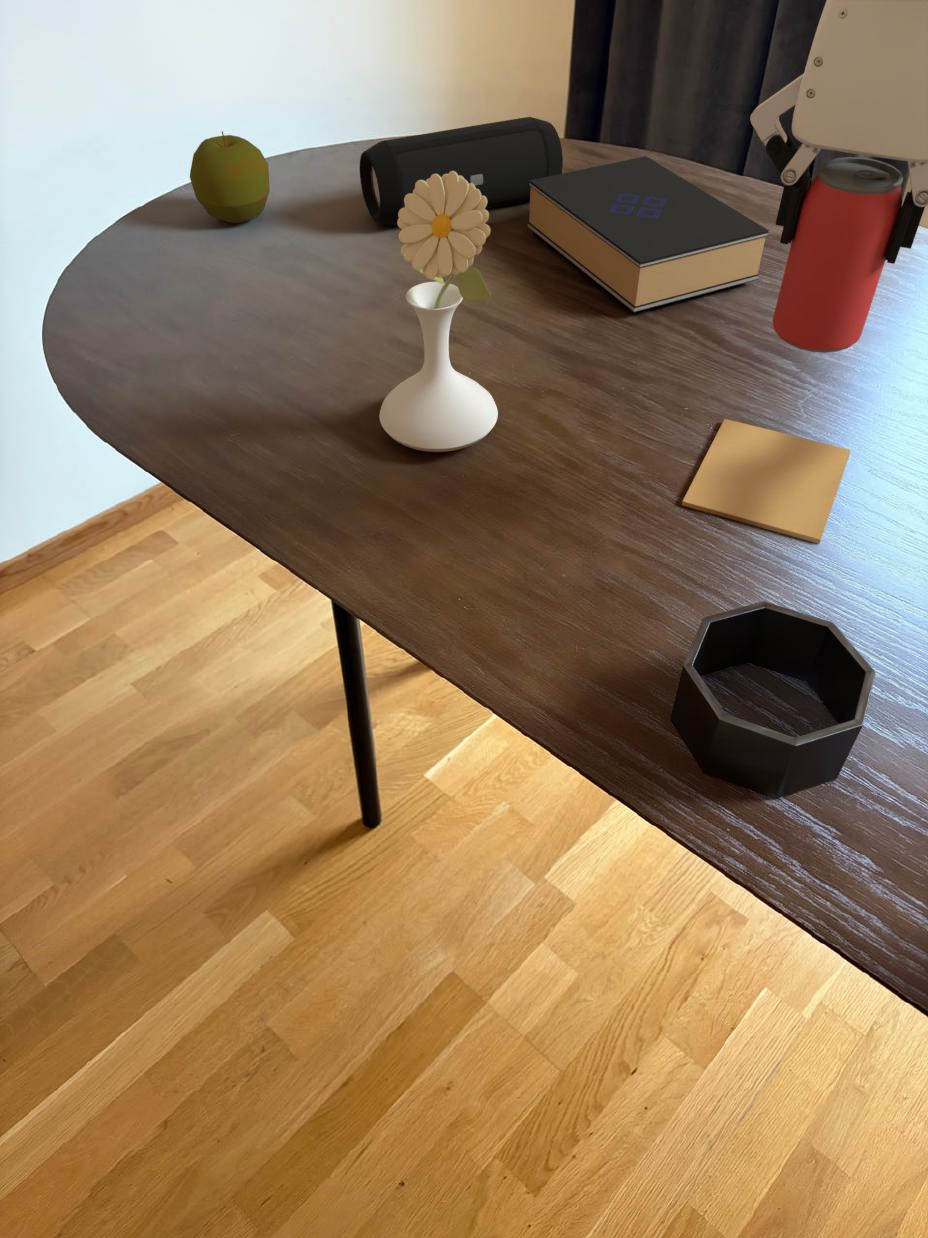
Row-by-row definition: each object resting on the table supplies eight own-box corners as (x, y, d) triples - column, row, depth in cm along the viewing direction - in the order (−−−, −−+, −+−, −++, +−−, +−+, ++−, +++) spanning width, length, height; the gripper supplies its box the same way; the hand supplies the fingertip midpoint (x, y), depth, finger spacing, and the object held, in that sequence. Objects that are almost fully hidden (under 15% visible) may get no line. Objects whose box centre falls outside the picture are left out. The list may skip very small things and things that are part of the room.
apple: (188, 230, 123) (168, 141, 115) (217, 200, 129) (200, 114, 121) (260, 237, 121) (245, 147, 113) (286, 206, 127) (273, 119, 120)
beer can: (870, 356, 69) (925, 191, 61) (781, 357, 70) (824, 191, 61) (846, 312, 74) (894, 153, 65) (762, 313, 74) (799, 153, 65)
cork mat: (849, 454, 88) (851, 449, 87) (819, 544, 79) (820, 539, 79) (723, 422, 91) (724, 418, 91) (681, 505, 83) (682, 501, 82)
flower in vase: (358, 422, 92) (329, 155, 74) (450, 382, 97) (445, 123, 79) (436, 487, 85) (425, 210, 67) (532, 441, 89) (546, 170, 71)
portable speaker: (385, 241, 120) (379, 159, 112) (360, 211, 126) (353, 132, 119) (563, 206, 126) (568, 127, 119) (531, 180, 133) (534, 103, 126)
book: (639, 207, 126) (646, 155, 121) (757, 285, 110) (769, 230, 106) (526, 232, 121) (528, 179, 116) (633, 319, 105) (640, 262, 101)
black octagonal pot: (858, 693, 68) (884, 637, 63) (826, 819, 61) (853, 765, 56) (701, 642, 71) (716, 586, 67) (654, 755, 64) (667, 700, 60)
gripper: (1094, -60, 54) (974, 246, 66) (788, -83, 59) (732, 205, 72) (1091, -31, 49) (963, 292, 62) (760, -59, 54) (706, 244, 67)
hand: (840, 243), depth 67 cm, fingers closed on beer can, 6 cm apart
